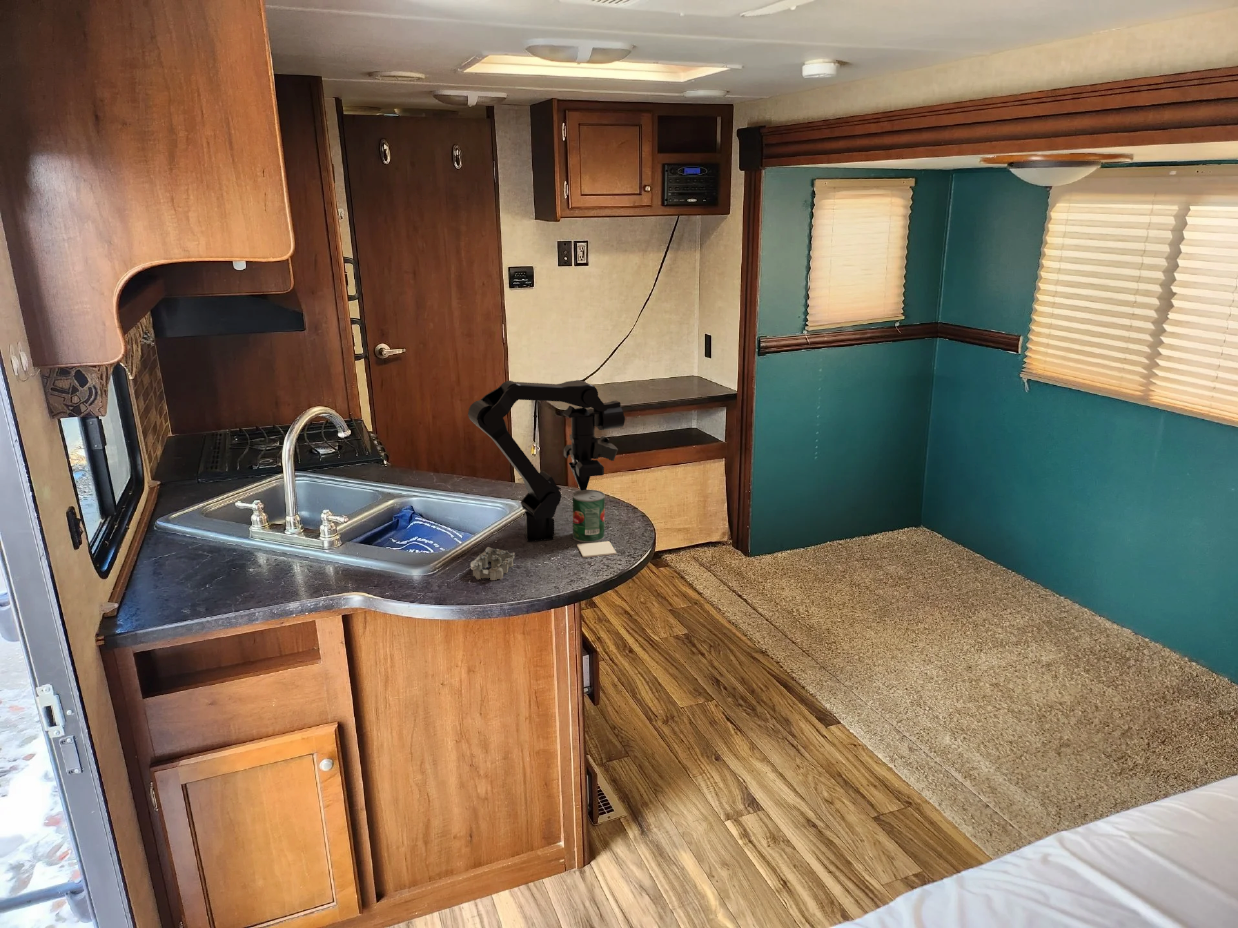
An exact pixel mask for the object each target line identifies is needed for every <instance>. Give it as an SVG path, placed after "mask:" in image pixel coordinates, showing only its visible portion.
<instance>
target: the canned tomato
mask: <svg viewBox="0 0 1238 928" xmlns="http://www.w3.org/2000/svg"><path fill="white" fill-rule="evenodd" d="M605 497H606V496H605V493H604V492H602V491H600V490H595V489H587V490H581V491H580V490H578V491H575V492H574V493H573V494H572V539H574V540H575V541H577V542H580V543H584V544H586V543H596V542H601V541H603V540H604V538H605V528H606V527H605V513H606V511H605V506H606V504H605V501H606V499H605Z"/></svg>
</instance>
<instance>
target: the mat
mask: <svg viewBox="0 0 1238 928" xmlns="http://www.w3.org/2000/svg"><path fill="white" fill-rule="evenodd" d="M576 547H577V549H578V550H579V552H580V554H581V556H582V558H592V557H594V558H595V557H601V556H602V557H603V556H613V555H617V551H616V549H615V548H614V547H613V545H612V543H611V542H610V541H609V540H608V541H598V542H592V543H577V545H576Z"/></svg>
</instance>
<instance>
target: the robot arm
mask: <svg viewBox="0 0 1238 928" xmlns="http://www.w3.org/2000/svg"><path fill="white" fill-rule="evenodd" d="M520 400H521V401H537V402H538V401H541V402H542V401H544V402H561V403H566V404H569V406H568V407H567V408H566V409H565V410H564V411H563V412H562V415H564V416H565V417H566V418H569V419H571V421H570V423H571V427H570V429H571V430H570V432H571V433H570V434H569V439H570V441H571V444H566V445H565V446H564V448H563V457H565V459H569V456H570V458H571V461H570V462H568V465H569V468H570V470H571V473H572V475H573V477H574V479H575V481H576V484H577V486H578V489H579V491H581V490H588V487H589V481H590V479H591V477H597V476H599V477H600V476H604V475H605V467H604V465H603V464H602V463H601V462H600V461H599V460H598V459H599V457H600V458H604V459H608V460H609V461H611V462H614V461H615V459H616V455H617V453H618V451H619V448H617V446H615V444H613V443H611V442H610V438H608V437H606V436H604V435H602V436H601V437H600V438H597V437H596V435H595V428H597V429H598V430H599V431H606V430H613V429H614V430H615V429H620V428H623V427H624V425H625V423H626V417H625V414H624V411H623V409H622V407H621V402H620V401H618V400H612V401H609V402H603V400H602V399H601V398H600V397H599V391H598V389H597V387H596V386H595V385H592V384H591V383H588V382H585V381H584V380H579V379H576V380H569V381H565V382H561V383H545V382H544V383H541V382H524V381H513V380H506V381H504V382H503V383H501V384H500V385H499V386H498V387H497V388H495V389H493V390H491V391H490V392H488V393H486V394H485V395H484V396H483V397H482V398H480V399H479V400H475V401H474V402H473V403H471V404H470V406H469V408H468V412H467V416H468V419H469V420H470V421H471V422H472V423H473V425H475V426H476V427H477V428H479V429H480V430H481V431H482V432H483V433H484V434H486V435H487V436H488V437H489V438H490V439H491V440H492V442H494V444H495V445H496V446H497V447H498V449H499V450H500V451H501V453H502V455H504V456H505V458H506V459H507V460H508V462H509V463H510V464H511V466H512V467H513V468H514V469H515V471H516V472H517V473H518V475H519V476H520V477H521V479H522V480H523V483H524V486H525V490H526V492H527V494H526V495H525V496H524V497H523V499H522V500H521V501H520V505H521V507H522V509H523V510H525V511H524V530H523V533H524V537H525V539H526V541H527V542H529V543H530V542H539V541H540V542H541V541H551V540H554V538H555V537H554V535H555V518H554V517H555V514H556V510H557V508H558V506H559V504H560V502H561V500H562V494H561V491H560V490H561V488H562V487H560V486H558V485H557V483H556V482H555V480H554V479H555V478H553V477H552V476H551V475H550V474H548V473H547V472H546V471H544V470H541V471H540V472H539V471H538V469H537V468H536V467H535V465H534V464H533V463H532V461H531V460H530V459H529V458H528V456H527V455H526V454H525V453H524V451H523V450H522V448H521V447H520V446H519V444H518V443H517V442H516V440H515V439H514V438H513V437H512V435H511V434H510V432H509V430H508V428H507V424H506V420H505V419H504V418H505V417H506V416H508V414H509V413H510V411H511V409H512V408H513V407H514V405H515V404H516V403H517V402H518V401H520ZM571 405H573V406H571ZM574 406H575V407H574ZM590 408H591V409H590Z"/></svg>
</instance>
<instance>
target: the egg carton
mask: <svg viewBox="0 0 1238 928" xmlns="http://www.w3.org/2000/svg"><path fill="white" fill-rule="evenodd" d="M514 558H516V557H515V552H513V551H512V552H511V553H510V552H509V550H503V549H498V548H496V549H495V548H492V547H489V546H487V547H486V548H485V550H484V551H483V552H482V553H481V554H479V555H478V556H477V557H476V558H475V559H474V560H472V561H471V562H470V569H471V570H472V577H474V576H475V579H476V580H479V579H480V580H482V579H489V578H490V579H489V581H490V580H496V581H498V580H497V579H500V580H502V579H503V577H504V574H507V573H508V571H509V568H512V567H514ZM488 563H490V565H491V568H489V569H485V567H486V568H488V566H489V565H488ZM481 578H482V579H481ZM501 578H502V579H501Z"/></svg>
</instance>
